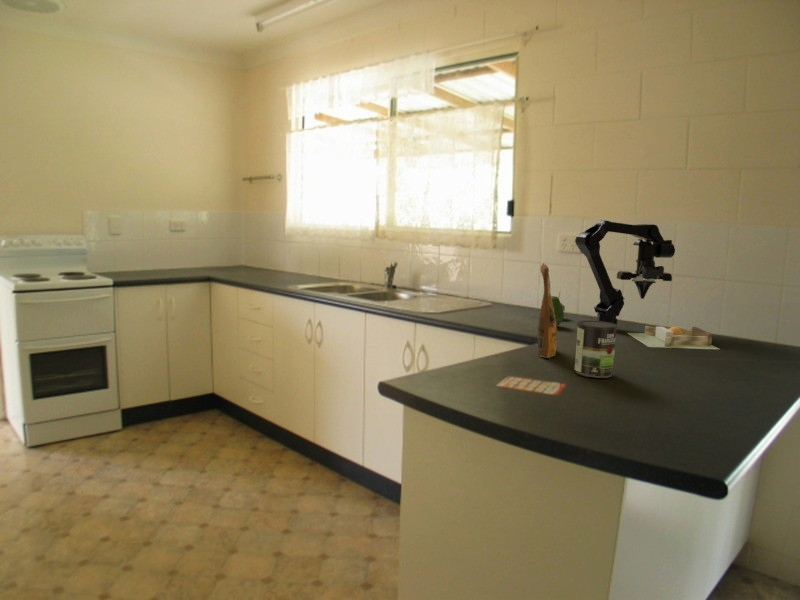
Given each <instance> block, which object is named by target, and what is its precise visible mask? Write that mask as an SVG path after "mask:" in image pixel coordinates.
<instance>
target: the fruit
mask: <svg viewBox="0 0 800 600" xmlns="http://www.w3.org/2000/svg"><path fill="white" fill-rule="evenodd" d="M551 298H552V303H553V308H554V314H555V319H556V326H557V327H558V326H560V325H561V324H562V322H563V320H564V316H565V313H564V312H565V311H563V308H562V305H561V304H562V303H561V300H560V298H559V299H558V296H554V295H553V296H552V295H551Z"/></svg>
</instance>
